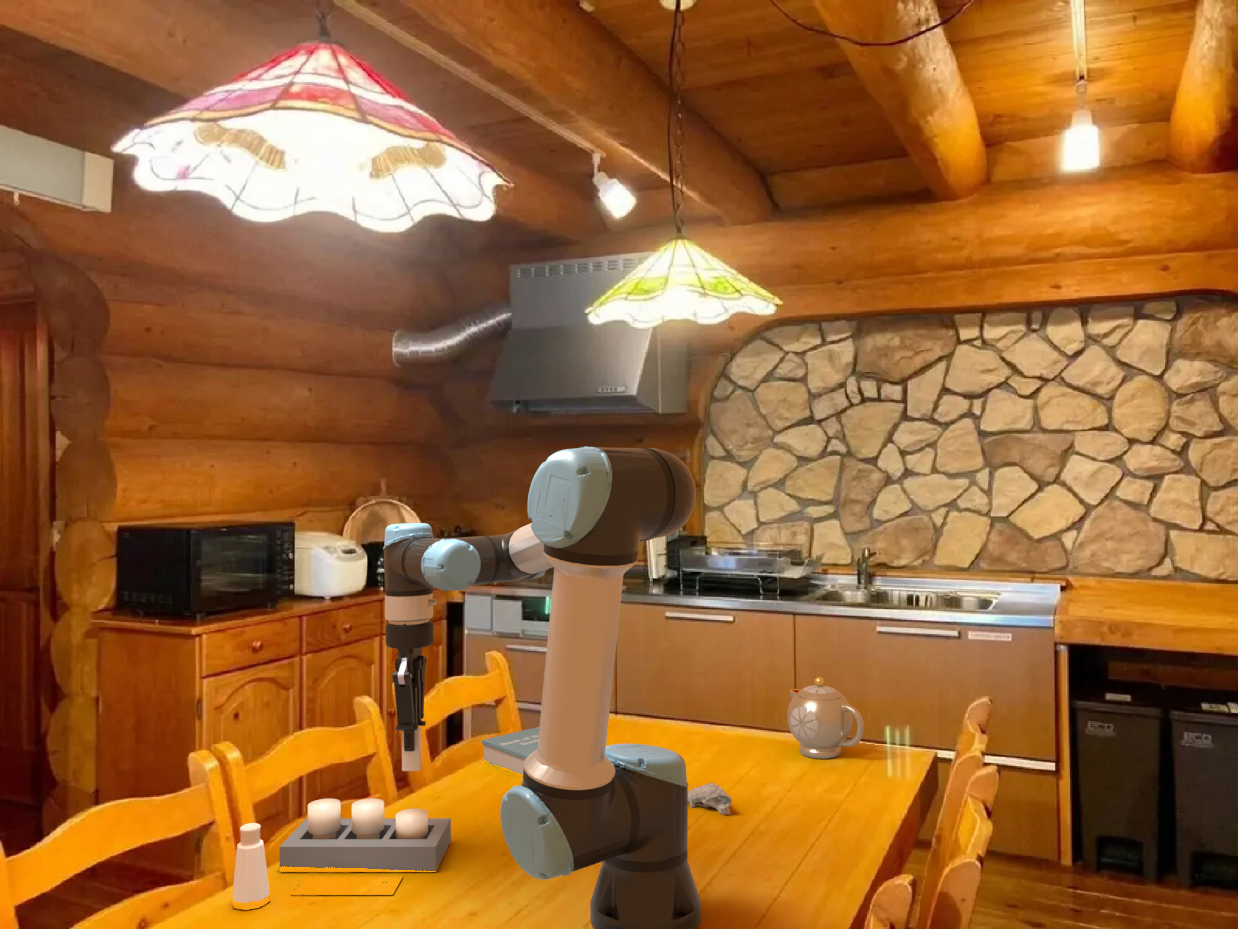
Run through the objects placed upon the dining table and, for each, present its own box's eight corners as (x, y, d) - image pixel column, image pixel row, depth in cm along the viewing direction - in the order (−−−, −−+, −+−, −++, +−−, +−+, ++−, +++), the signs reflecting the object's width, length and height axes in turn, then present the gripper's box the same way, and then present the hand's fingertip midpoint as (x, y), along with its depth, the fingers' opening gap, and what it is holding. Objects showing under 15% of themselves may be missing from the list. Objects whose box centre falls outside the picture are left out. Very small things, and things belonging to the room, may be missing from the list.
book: (481, 764, 207) (481, 740, 207) (542, 748, 218) (542, 725, 218) (548, 790, 190) (548, 764, 190) (611, 771, 201) (610, 747, 201)
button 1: (335, 847, 155) (334, 809, 155) (303, 847, 155) (303, 809, 155) (344, 835, 160) (344, 798, 160) (314, 835, 160) (313, 798, 160)
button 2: (424, 858, 154) (423, 819, 154) (392, 858, 154) (392, 820, 154) (431, 845, 159) (430, 808, 159) (400, 846, 159) (399, 808, 159)
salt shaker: (276, 894, 144) (275, 818, 144) (264, 911, 139) (263, 832, 139) (238, 895, 144) (237, 819, 144) (225, 912, 138) (224, 833, 138)
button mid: (379, 847, 154) (379, 809, 154) (347, 847, 155) (347, 809, 155) (387, 835, 159) (387, 798, 159) (357, 835, 160) (356, 798, 160)
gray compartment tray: (435, 873, 151) (435, 846, 151) (279, 873, 151) (279, 847, 151) (450, 842, 163) (450, 818, 163) (306, 842, 163) (306, 818, 163)
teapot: (772, 754, 210) (771, 677, 210) (808, 740, 220) (807, 667, 220) (846, 771, 198) (845, 690, 198) (881, 757, 207) (880, 678, 207)
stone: (699, 822, 172) (700, 798, 172) (677, 797, 184) (677, 775, 184) (734, 819, 174) (734, 795, 174) (710, 794, 186) (710, 772, 185)
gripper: (423, 627, 150) (426, 782, 150) (441, 614, 163) (443, 757, 163) (374, 627, 150) (377, 782, 150) (396, 614, 163) (398, 757, 163)
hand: (411, 769), depth 157 cm, fingers closed
